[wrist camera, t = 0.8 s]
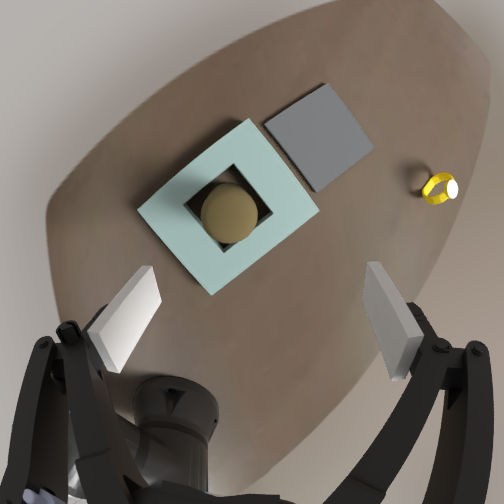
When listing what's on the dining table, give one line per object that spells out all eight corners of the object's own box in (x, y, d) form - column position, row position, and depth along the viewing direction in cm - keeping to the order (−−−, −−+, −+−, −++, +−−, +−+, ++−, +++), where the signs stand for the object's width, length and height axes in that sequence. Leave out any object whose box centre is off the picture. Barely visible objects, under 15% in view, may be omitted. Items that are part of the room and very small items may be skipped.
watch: (430, 169, 35) (456, 167, 30) (438, 181, 36) (464, 182, 30) (414, 193, 36) (440, 195, 30) (423, 206, 36) (448, 209, 31)
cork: (196, 195, 33) (182, 200, 23) (240, 175, 33) (247, 171, 22) (216, 238, 35) (212, 262, 24) (259, 218, 35) (275, 234, 24)
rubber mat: (315, 192, 34) (316, 192, 34) (263, 125, 32) (264, 123, 31) (372, 148, 34) (374, 148, 33) (326, 84, 31) (327, 82, 30)
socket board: (212, 288, 36) (211, 295, 34) (143, 208, 33) (137, 210, 30) (313, 208, 35) (319, 210, 33) (246, 122, 31) (248, 118, 29)
